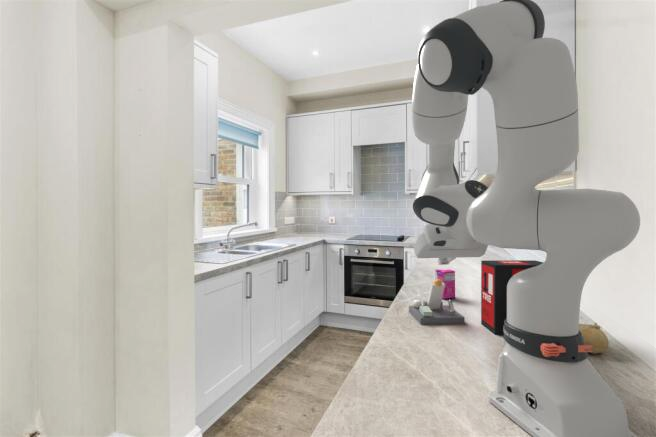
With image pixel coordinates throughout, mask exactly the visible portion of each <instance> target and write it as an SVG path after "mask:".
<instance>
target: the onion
mask: <svg viewBox="0 0 656 437" xmlns="http://www.w3.org/2000/svg"><path fill="white" fill-rule="evenodd" d="M579 330H580V331H581V333H582V336H583V339H584V342H585V345H592V346H593V347H591V348H588V349H587V350H591V351H593V352H588V354H593V355H598V354H602V353H605V352H606V351H607V350H608V349H609V346H610V342H609V339H608V336H607V335H606V333H605V332H604V331H602V329H601V326H600V325H598V324H597V322H594V324H586V323H579Z"/></svg>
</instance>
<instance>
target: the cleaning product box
mask: <svg viewBox="0 0 656 437" xmlns="http://www.w3.org/2000/svg"><path fill="white" fill-rule="evenodd" d="M544 262H545V261H539V260H533V259H531V260H527V259H526V260H524V259H523V260H518V259H517V260H481V262H480V263H481V264H480V265H481V266H480V268H481V269H480V270H481V274H480V276H481V279H480V281H481V282H480V283H481V284H480V287H481V289H480V290H481V291H480V294H481V295H480V298H481V299H480V301H481V302H480V305H481V306H480V307H481V308H480V313H481V314H480V316H481V317H480V319H481V320H480V325H481V326H483V327H485V329H486V330H488V331H489V332H491V333H492V334H494V335H495V336H504V331H503V327H504V321H505V319H507V284H508V282H509V280H510V278H511V277H512V276H513V275H515V274H516V273H518V272H521V271H523V270H526V269H529V268H532V267H535V266H538V265H541V264H542V263H544Z"/></svg>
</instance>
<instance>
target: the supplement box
mask: <svg viewBox="0 0 656 437" xmlns="http://www.w3.org/2000/svg"><path fill="white" fill-rule="evenodd" d="M436 279H440V280H441V281H442V282H444V284H445V287H444V292H443V296H442V300H444V301H447V299H448V300H456V271H455V270H453V269H449V268H437V269H434V281H435V280H436Z"/></svg>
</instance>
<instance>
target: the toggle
mask: <svg viewBox="0 0 656 437" xmlns="http://www.w3.org/2000/svg"><path fill="white" fill-rule="evenodd" d="M448 306H449V313H456V311H457V310H456V309H455V306H454V302H453V299H448Z"/></svg>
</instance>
